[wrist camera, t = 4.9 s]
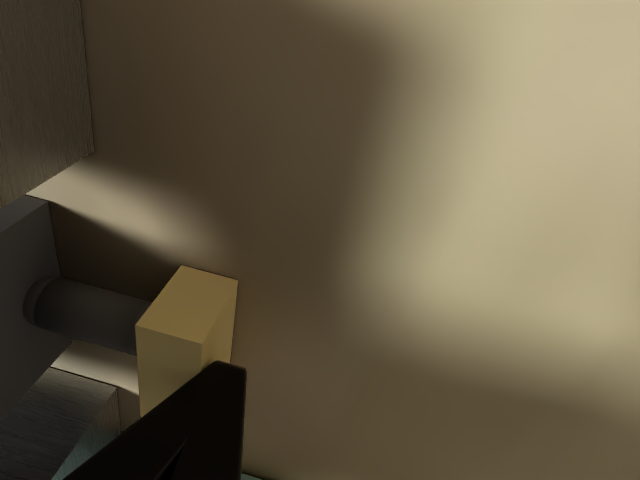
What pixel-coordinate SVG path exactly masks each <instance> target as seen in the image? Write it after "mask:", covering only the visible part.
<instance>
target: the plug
mask: <svg viewBox="0 0 640 480" xmlns="http://www.w3.org/2000/svg"><path fill="white" fill-rule="evenodd" d="M237 289H238V280H235V279H231V278H227V277H223V276H220V275H216V274H212V273H209V272H205V271H201V270H197V269H194V268H190V267H186V266H183V265H181V267H180V268H179V269H178V270H177V272H176V273H175V274H174V276H173V277H172V278H171V279H170V281H169V282H168V283H167V285H166V286H165V287H164V288H163V290H162V291H161V292H160V294H159V295H158V296H157V298H156V299H155V300H154V301H153V302H149V301H146V300H142V299H139V298H135V297H131V296H128V295H124V294H120V293H117V292H113V291H110V290H106V289H102V288H99V287H95V286H91V285H88V284H84V283H81V282H77V281H73V280H70V279H66V278H62V277H60V271H59V265H58V259H57V254H56V248H55V242H54V236H53V230H52V224H51V218H50V212H49V206H48V201H45V200H41V199H37V198H34V197H30V196H26V195H22V196H21V197H19V198H18V199H16V200H14V201H13V202H11V203H9V204H8V205H6V206H5V207H3V208H1V209H0V421H1V420H2V419H3V418H4V417H5V416H6V414H7V413H8V412H9V411H10V410H11V409H12V408H13V407H14V406H15V404H16V403H17V402H18V401H19V400H20V399H21V398H22V397H23V396H24V394H25V393H26V392H27V391H28V390H29V389H30V388H31V387H32V386H33V384H34V383H35V382H36V381H37V380H38V379H39V378H40V377H41V376H42V375H43V373H44V372H45V371H46V370H47V369H48V368H49V367H50V366H51V365H52V363H53V362H54V361H55V360H56V359H57V358H58V357H59V356H60V355H61V353H62V352H63V351H64V350H65V349H66V348H67V347H68V346H69V345H70V343H71V337H72V338H76V339H79V340H83V341H86V342H90V343H93V344H97V345H100V346H104V347H107V348H111V349H114V350H118V351H121V352H125V353H128V354H132V355H137V365H138V382H139V399H140V415H141V417H143V416H144V415H145V414H147V413H148V412H149V411H150V410H152V409H153V408H154V407H156V406H157V405H158V404H159V403H161V402H162V401H163V400H164V399H166V398H167V397H168V396H170V395H171V394H172V393H173V392H175V391H176V390H177V389H179V388H180V387H181V386H182V385H184V384H185V383H186V382H188V381H189V380H190V379H191V378H193V377H194V376H195V375H197V374H198V373H199V372H200V371H202V370H203V369H204V368H206V367H207V366H208V365H209V364H211V363H212V362H213V361H216V360H220V361H223V362H227V363H230V358H231V348H232V338H233V328H234V318H235V308H236V298H237Z"/></svg>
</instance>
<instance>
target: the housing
mask: <svg viewBox="0 0 640 480" xmlns="http://www.w3.org/2000/svg"><path fill="white" fill-rule="evenodd" d="M92 152H94V142H93V131H92V121H91V110H90V100H89V89H88V78H87V68H86V57H85V47H84V36H83V26H82V15H81V5H80V0H0V209H1V208H3V207H5V206H6V205H8V204H9V203H11V202H13V201H14V200H16V199H18V198H19V197H21V196H22V195H24V194H26V193H27V192H29V191H31V190H32V189H34V188H35V187H37V186H39V185H40V184H42V183H44V182H45V181H47V180H48V179H50V178H52V177H53V176H55V175H57V174H58V173H60V172H61V171H63V170H65V169H66V168H68V167H70V166H71V165H73V164H74V163H76V162H78V161H79V160H81V159H83V158H84V157H86V156H87V155H89V154H91V153H92ZM120 434H121V427H120V416H119V406H118V395H117V387H114V386H111V385H108V384H104V383H101V382H97V381H94V380H90V379H87V378H84V377H80V376H77V375H73V374H70V373H67V372H63V371H60V370H56V369H53V368H50V367H49V368H48V369H47V370H46V371H45V372H44V373H43V375H42V376H41V377H40V378H39V379H38V380H37V381H36V382H35V383H34V384H33V386H32V387H31V388H30V389H29V390H28V391H27V392H26V393H25V394H24V396H23V397H22V398H21V399H20V400H19V401H18V402H17V403H16V404H15V406H14V407H13V408H12V409H11V410H10V411H9V412H8V413H7V414H6V416H5V417H4V418H3V419H2V420H1V421H0V480H62V479H63V478H65V477H66V476H67V475H68V474H70V473H71V472H72V471H73V470H75V469H76V468H77V467H79V466H80V465H81V464H82V463H84V462H85V461H86V460H88V459H89V458H90V457H91V456H93V455H94V454H95V453H97V452H98V451H99V450H100V449H102V448H103V447H104V446H106V445H107V444H108V443H109V442H111V441H112V440H113V439H115V438H116V437H117V436H118V435H120Z"/></svg>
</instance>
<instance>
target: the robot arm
mask: <svg viewBox="0 0 640 480" xmlns="http://www.w3.org/2000/svg"><path fill="white" fill-rule="evenodd" d="M246 381H247V370H246V369H245V368H243V367H240V366H237V365H233V364H230V363H227V362H223V361H220V360H216V361H213V362H212V363H211V364H209V365H208V366H207V367H206V368H204V369H203V370H202V371H200V372H199V373H198V374H197V375H195V376H194V377H193V378H191V379H190V380H189V381H188V382H186V383H185V384H184V385H182V386H181V387H180V388H179V389H177V390H176V391H175V392H173V393H172V394H171V395H170V396H168V397H167V398H166V399H164V400H163V401H162V402H161V403H159V404H158V405H157V406H156V407H154V408H153V409H152V410H150V411H149V412H148V413H147V414H145V415H144V416H143V417H141V418H140V419H139V420H138V421H136V422H135V423H134V424H132V425H131V426H130V427H129V428H127V429H126V430H125V431H123V432H122V433H121V434H120V435H118V436H117V437H116V438H115V439H113V440H112V441H111V442H109V443H108V444H107V445H106V446H104V447H103V448H102V449H100V450H99V451H98V452H97V453H95V454H94V455H93V456H91V457H90V458H89V459H88V460H86V461H85V462H84V463H82V464H81V465H80V466H79V467H77V468H76V469H75V470H73V471H72V472H71V473H70V474H68V475H67V476H66V477H65V478H63V479H62V480H241V469H242V452H243V434H244V417H245V399H246Z"/></svg>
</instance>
